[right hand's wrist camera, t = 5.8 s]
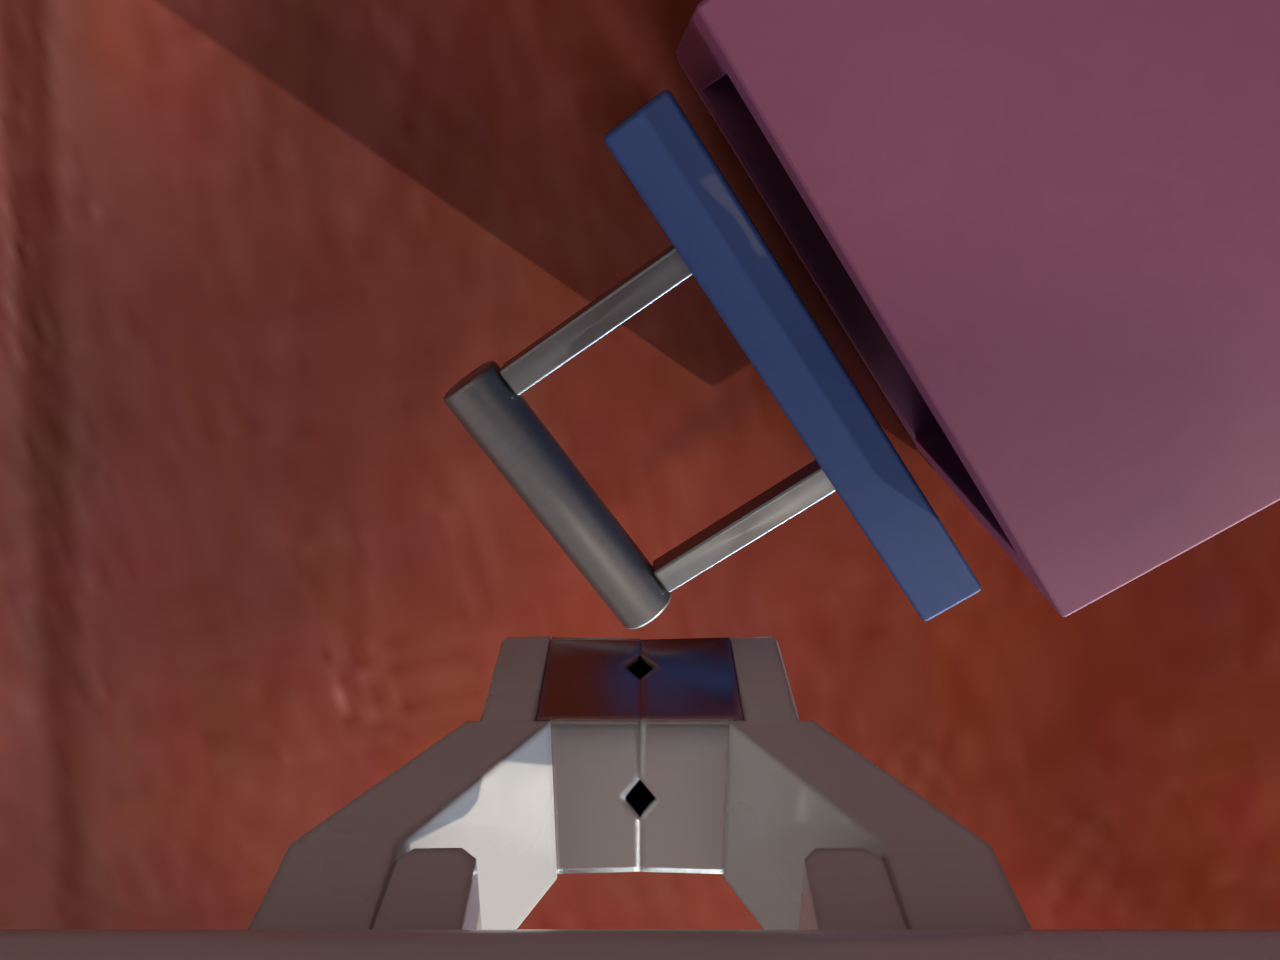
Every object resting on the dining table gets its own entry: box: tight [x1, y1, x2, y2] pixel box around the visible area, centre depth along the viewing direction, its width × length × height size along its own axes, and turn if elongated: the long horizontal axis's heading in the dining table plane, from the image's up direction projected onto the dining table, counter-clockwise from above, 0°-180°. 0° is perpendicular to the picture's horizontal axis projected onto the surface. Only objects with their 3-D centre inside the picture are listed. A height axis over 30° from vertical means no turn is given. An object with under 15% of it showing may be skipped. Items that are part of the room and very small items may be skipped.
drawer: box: [443, 90, 981, 629], centre depth 17 cm, size 23×10×6 cm, turn 125°
